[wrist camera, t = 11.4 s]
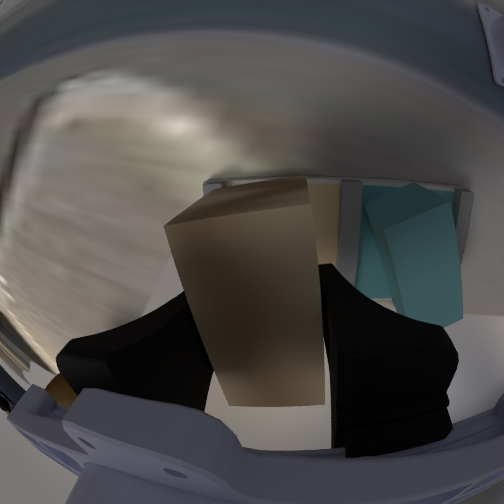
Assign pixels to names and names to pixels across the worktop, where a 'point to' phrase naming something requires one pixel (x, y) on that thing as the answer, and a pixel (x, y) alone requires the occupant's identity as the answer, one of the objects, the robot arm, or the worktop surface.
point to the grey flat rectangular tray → (359, 223)
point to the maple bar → (255, 290)
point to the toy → (5, 405)
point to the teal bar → (418, 253)
